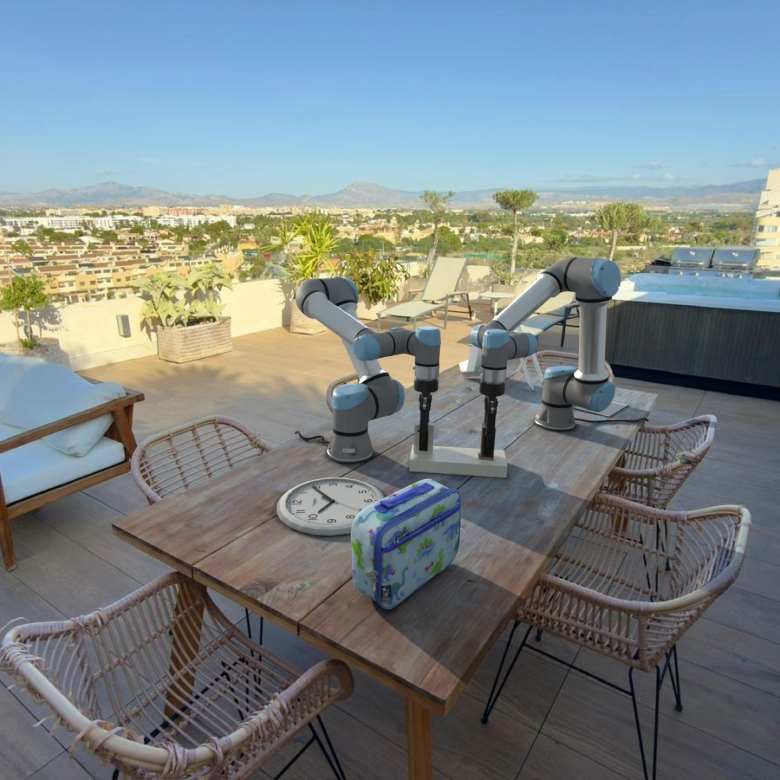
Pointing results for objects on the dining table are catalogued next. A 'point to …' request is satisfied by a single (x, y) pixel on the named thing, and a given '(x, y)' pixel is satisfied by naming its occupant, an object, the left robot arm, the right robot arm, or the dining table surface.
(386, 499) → the lunch box
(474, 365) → the white plastic object
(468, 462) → the peg board
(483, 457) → the peg
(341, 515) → the wall clock
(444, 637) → the dining table surface
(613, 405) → the invitation card
